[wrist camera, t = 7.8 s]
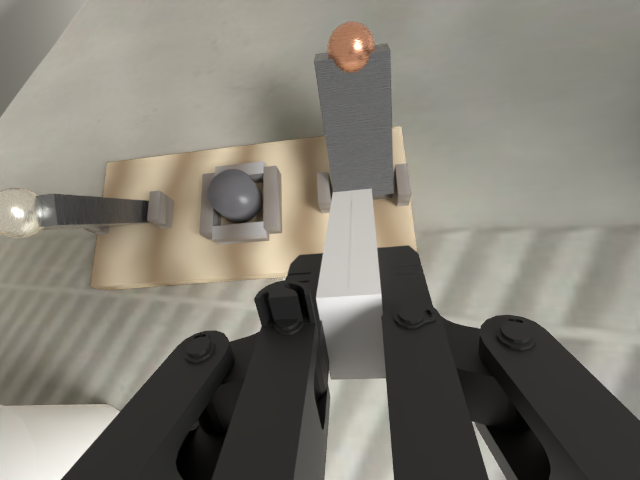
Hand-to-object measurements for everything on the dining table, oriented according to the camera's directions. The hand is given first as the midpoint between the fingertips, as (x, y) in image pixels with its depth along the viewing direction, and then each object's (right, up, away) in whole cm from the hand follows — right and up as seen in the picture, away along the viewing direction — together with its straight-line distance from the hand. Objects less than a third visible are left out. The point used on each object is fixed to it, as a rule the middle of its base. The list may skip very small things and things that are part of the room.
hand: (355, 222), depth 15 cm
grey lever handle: (-19, +2, +20) cm, 28 cm away
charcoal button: (-9, +3, +18) cm, 21 cm away
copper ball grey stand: (+2, +4, +17) cm, 18 cm away
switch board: (-8, +2, +21) cm, 23 cm away
